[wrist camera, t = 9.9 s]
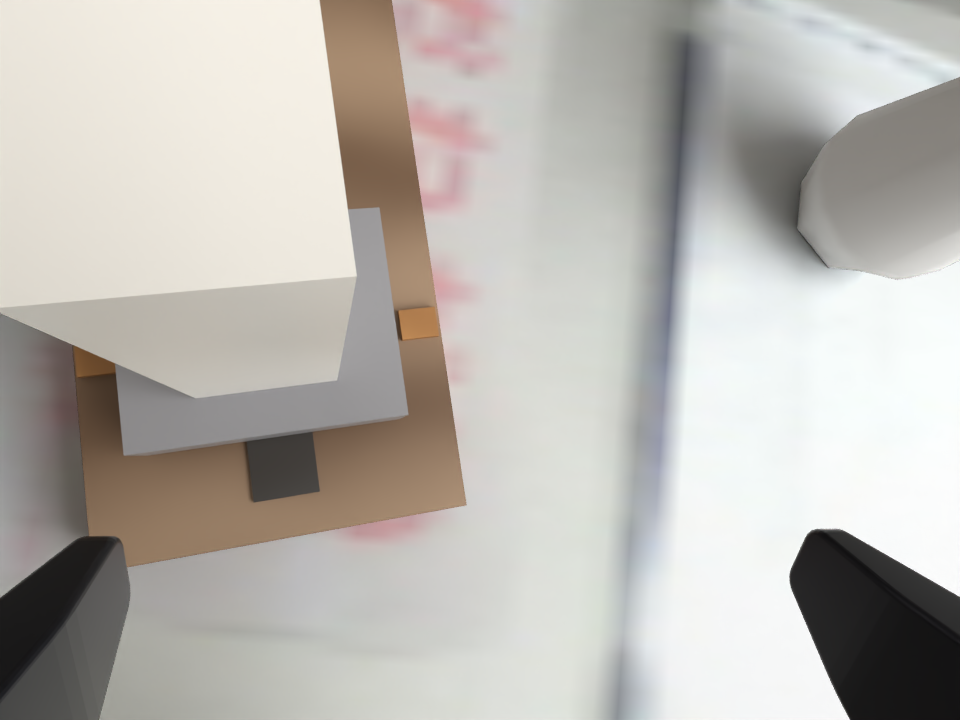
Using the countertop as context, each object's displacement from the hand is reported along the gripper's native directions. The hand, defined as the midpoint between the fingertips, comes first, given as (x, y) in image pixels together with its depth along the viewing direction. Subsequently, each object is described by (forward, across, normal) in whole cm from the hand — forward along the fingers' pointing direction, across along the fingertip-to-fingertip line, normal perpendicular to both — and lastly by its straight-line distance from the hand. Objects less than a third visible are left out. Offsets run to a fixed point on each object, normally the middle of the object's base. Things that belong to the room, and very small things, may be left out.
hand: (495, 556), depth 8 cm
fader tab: (+9, +4, +2) cm, 10 cm away
